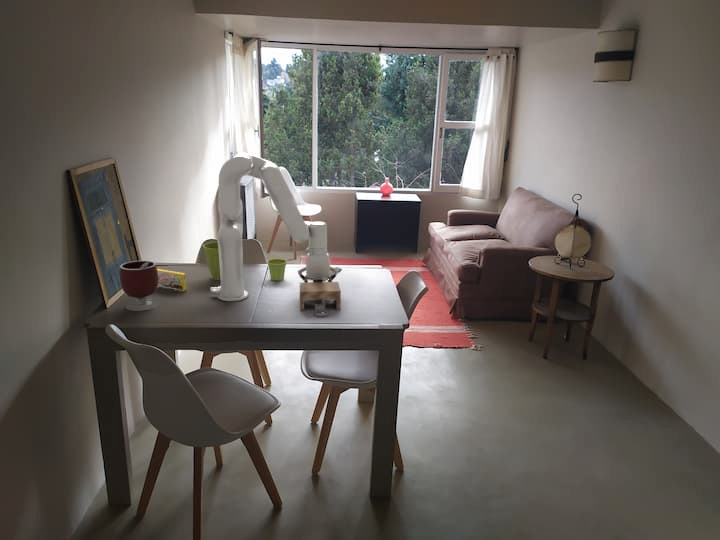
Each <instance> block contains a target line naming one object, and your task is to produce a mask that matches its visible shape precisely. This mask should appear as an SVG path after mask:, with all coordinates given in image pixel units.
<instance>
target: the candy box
mask: <svg viewBox="0 0 720 540" xmlns="http://www.w3.org/2000/svg"><path fill="white" fill-rule="evenodd" d="M157 271H158V285H161V286H165V287H171V288H176V289H180V290H186V289H187V280H186V273H185V272H180V271H179V272H178V271H175V270H174V271H173V270H172V271H171V270H168V269H167V270H166V269H161V268H157Z"/></svg>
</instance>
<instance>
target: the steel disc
mask: <svg viewBox="0 0 720 540" xmlns="http://www.w3.org/2000/svg"><path fill="white" fill-rule="evenodd" d="M328 312H329V311H328V310H326V309H316V310H315V311H314V316H315V317H316V316H317V317H316V318H326V317H328V316H327V315H328ZM325 316H326V317H325Z"/></svg>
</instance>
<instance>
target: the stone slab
mask: <svg viewBox="0 0 720 540" xmlns="http://www.w3.org/2000/svg"><path fill="white" fill-rule="evenodd" d="M334 268H335V269H337V270H338V272H340V271H341V270H342V268H341V267H334ZM333 274H334V272H333V271H331V270H330V276H332V275H333ZM310 279H311V280H312V281H313V278H309V279H308V280H310ZM322 279H323V282H327V281H328V278H322ZM326 280H327V281H326Z"/></svg>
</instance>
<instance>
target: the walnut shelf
mask: <svg viewBox="0 0 720 540" xmlns="http://www.w3.org/2000/svg"><path fill="white" fill-rule="evenodd" d="M341 292H342V291H341V287H340V284H339V281H332V282H328V281H323V282H313V281H312V282H311V281H310V282H304V281H303V282H299V311H300V312H305V301H314V300H324V301H325V300H327V301H328V300H329V301H331V300H334V304H336V305H335V309H336V310H337V311H341V305H342V304H341V300H342V299H341V295H342V293H341Z"/></svg>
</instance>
